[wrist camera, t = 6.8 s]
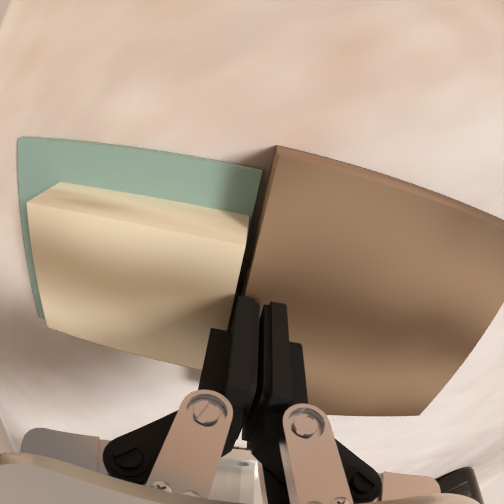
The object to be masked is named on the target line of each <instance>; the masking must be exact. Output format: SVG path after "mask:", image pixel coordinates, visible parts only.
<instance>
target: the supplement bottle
mask: <svg viewBox="0 0 504 504" xmlns="http://www.w3.org/2000/svg"><path fill="white" fill-rule="evenodd" d="M437 483H438V484H439V486H440V490H441V493H450V494H458V495H462V496H466V497H469V498H472V499H474V500H476V501H477V502H479V503H480V504H484V503H483V499H482V496H481V492H480V489H479V485H478V482H477V479H476V476H475V473H474V470H473V469H472V468H471V467H466V468H462V469H459V470H457V471H454V472H452V473H450V474H448V475H446V476H444V477H442V478H440V479H438V480H437Z"/></svg>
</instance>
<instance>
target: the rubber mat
mask: <svg viewBox="0 0 504 504" xmlns="http://www.w3.org/2000/svg"><path fill="white" fill-rule="evenodd" d="M17 157H18V186H19V201H20V212H21V222H22V231H23V238H24V245H25V252H26V258H27V264H28V270H29V275H30V280H31V285H32V290H33V294H34V299H35V303H36V307H37V311H38V315H39V317H41V318H44V319H45V315H44V311H43V307H42V302H41V298H40V293H39V288H38V283H37V278H36V273H35V267H34V261H33V254H32V248H31V240H30V232H29V223H28V213H27V202H28V201H30V200H31V199H33V198H34V197H36V196H38V195H39V194H41V193H42V192H44V191H46V190H47V189H49V188H51V187H52V186H54V185H56V184H58V183H59V182H64V183H71V184H77V185H84V186H90V187H96V188H102V189H108V190H114V191H120V192H126V193H132V194H138V195H143V196H149V197H155V198H160V199H166V200H171V201H177V202H182V203H187V204H193V205H198V206H203V207H208V208H213V209H218V210H223V211H229V212H234V213H238V214H243V215H248V216H249V223H248V231H247V237H248V233H249V228H250V224H251V219H252V215H253V211H254V206H255V202H256V197H257V193H258V189H259V184H260V180H261V176H262V169H257V168H253V167H248V166H243V165H238V164H233V163H228V162H223V161H217V160H212V159H206V158H201V157H195V156H189V155H183V154H177V153H171V152H165V151H158V150H151V149H144V148H137V147H130V146H122V145H114V144H105V143H96V142H87V141H77V140H66V139H53V138H40V137H20V138H18V143H17ZM246 242H247V239H246Z"/></svg>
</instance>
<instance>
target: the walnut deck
mask: <svg viewBox="0 0 504 504" xmlns="http://www.w3.org/2000/svg"><path fill="white" fill-rule="evenodd" d="M241 296H246V297H251V298H254V299H255V303H260V316H261V312H262V309H263V306H264V304H266V305H269V304H270V302H271V301H272V302H278V303H283V304H286V305H287V315H288V329H289V342H295V343H301V345H302V348H303V357H304V366H305V376H306V386H307V396H308V404H310V405H313V406H316V407H317V408H319V409H320V410H322V411H323V412H324V413H325V414H326V415H343V416H416V415H420V414H421V413H422V411H423V410H424V409H425V408H426V407H427V406H428V405H429V404H430V403H431V401H432V400H433V399H434V398H435V397H436V396H437V395H438V393H439V392H440V391H441V390H442V389H443V387H444V386H445V385H446V384H447V383H448V381H449V380H450V379H451V378H452V376H453V375H454V374H455V373H456V371H457V370H458V369H459V367H460V366H461V365H462V363H463V362H464V361H465V359H466V358H467V357H468V355H469V354H470V353H471V351H472V350H473V348H474V347H475V346H476V344H477V343H478V341H479V340H480V338H481V337H482V336H483V334H484V333H485V331H486V330H487V328H488V326H489V325H490V323H491V322H492V320H493V319H494V317H495V315H496V314H497V312H498V311H499V309H500V307H501V306H502V304H503V302H504V220H502V219H500V218H498V217H496V216H493V215H491V214H489V213H486V212H484V211H482V210H479V209H477V208H475V207H472V206H470V205H467V204H465V203H462V202H460V201H457V200H455V199H452V198H450V197H447V196H445V195H442V194H439V193H437V192H434V191H431V190H428V189H426V188H423V187H420V186H417V185H414V184H412V183H409V182H406V181H403V180H400V179H397V178H394V177H391V176H388V175H385V174H381V173H378V172H375V171H372V170H369V169H365V168H362V167H359V166H355V165H352V164H348V163H345V162H341V161H338V160H334V159H330V158H327V157H323V156H319V155H315V154H311V153H308V152H304V151H299V150H295V149H291V148H287V147H283V146H278V145H277V146H276V150H275V154H274V159H273V163H272V167H271V171H270V176H269V180H268V184H267V188H266V192H265V197H264V201H263V205H262V209H261V213H260V218H259V222H258V226H257V230H256V235H255V239H254V243H253V247H252V251H251V256H250V260H249V264H248V268H247V273H246V277H245V281H244V285H243V289H242V294H241ZM260 316H259V319H260Z"/></svg>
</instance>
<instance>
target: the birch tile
mask: <svg viewBox="0 0 504 504" xmlns="http://www.w3.org/2000/svg"><path fill="white" fill-rule="evenodd" d="M27 213H28V223H29V232H30V240H31V248H32V254H33V261H34V267H35V273H36V278H37V283H38V288H39V293H40V298H41V302H42V307H43V311H44V315H45V319H46V323H47V327H49V328H51V329H54V330H57V331H60V332H63V333H66V334H69V335H72V336H75V337H78V338H81V339H84V340H87V341H90V342H94V343H97V344H100V345H103V346H107V347H110V348H114V349H117V350H121V351H124V352H128V353H132V354H136V355H139V356H143V357H147V358H151V359H155V360H159V361H163V362H168V363H172V364H176V365H181V366H186V367H190V368H195V369H200V370H202V368H203V363H204V358H205V353H206V348H207V344H208V339H209V334H210V329H211V328H215V329H221V330H226V331H227V328H228V324H229V319H230V315H231V310H232V306H233V301H234V296H235V292H236V287H237V283H238V278H239V274H240V269H241V265H242V260H243V256H244V251H245V247H246V239H247V231H248V223H249V216H248V215H243V214H238V213H234V212H229V211H223V210H218V209H213V208H208V207H203V206H198V205H193V204H187V203H182V202H177V201H171V200H166V199H160V198H155V197H149V196H143V195H138V194H132V193H126V192H120V191H114V190H108V189H102V188H96V187H90V186H84V185H77V184H71V183H64V182H59V183H58V184H56V185H54V186H52V187H51V188H49V189H47V190H46V191H44V192H42V193H41V194H39V195H38V196H36V197H34V198H33V199H31V200H30V201H28V202H27Z"/></svg>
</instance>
